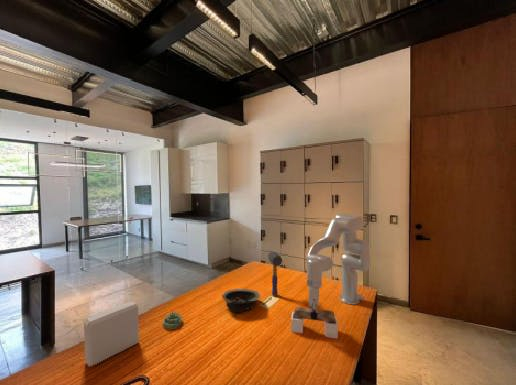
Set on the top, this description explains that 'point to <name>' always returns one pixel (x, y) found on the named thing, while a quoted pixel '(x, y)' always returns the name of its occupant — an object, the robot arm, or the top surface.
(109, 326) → the bevelled white case
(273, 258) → the rubber mallet
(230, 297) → the stone bowl
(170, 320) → the decorative artifact
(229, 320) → the top surface
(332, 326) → the twin hollow square sockets
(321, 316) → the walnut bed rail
